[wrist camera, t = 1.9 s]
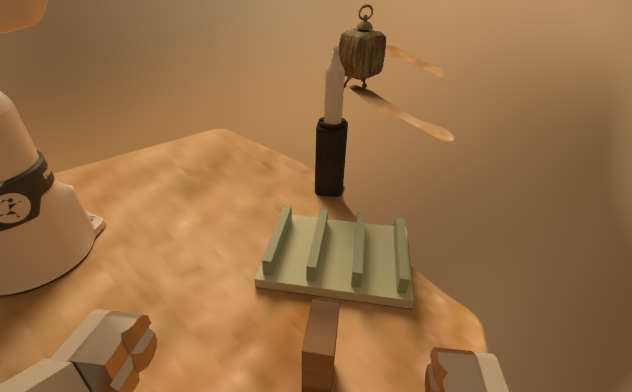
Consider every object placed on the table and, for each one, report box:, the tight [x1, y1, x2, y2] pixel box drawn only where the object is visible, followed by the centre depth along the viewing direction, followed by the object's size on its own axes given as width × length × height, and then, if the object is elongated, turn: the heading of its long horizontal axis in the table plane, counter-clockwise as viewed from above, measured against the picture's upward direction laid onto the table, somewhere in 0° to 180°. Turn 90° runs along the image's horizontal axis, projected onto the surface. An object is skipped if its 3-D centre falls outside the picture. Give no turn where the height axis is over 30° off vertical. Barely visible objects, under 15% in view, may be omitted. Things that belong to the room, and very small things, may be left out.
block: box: [302, 299, 340, 392], centre depth 31 cm, size 5×2×10 cm, turn 171°
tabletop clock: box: [339, 5, 386, 88], centre depth 111 cm, size 14×9×25 cm, turn 136°
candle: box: [315, 46, 348, 197], centre depth 57 cm, size 5×5×25 cm
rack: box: [254, 205, 414, 309], centre depth 47 cm, size 14×20×4 cm
